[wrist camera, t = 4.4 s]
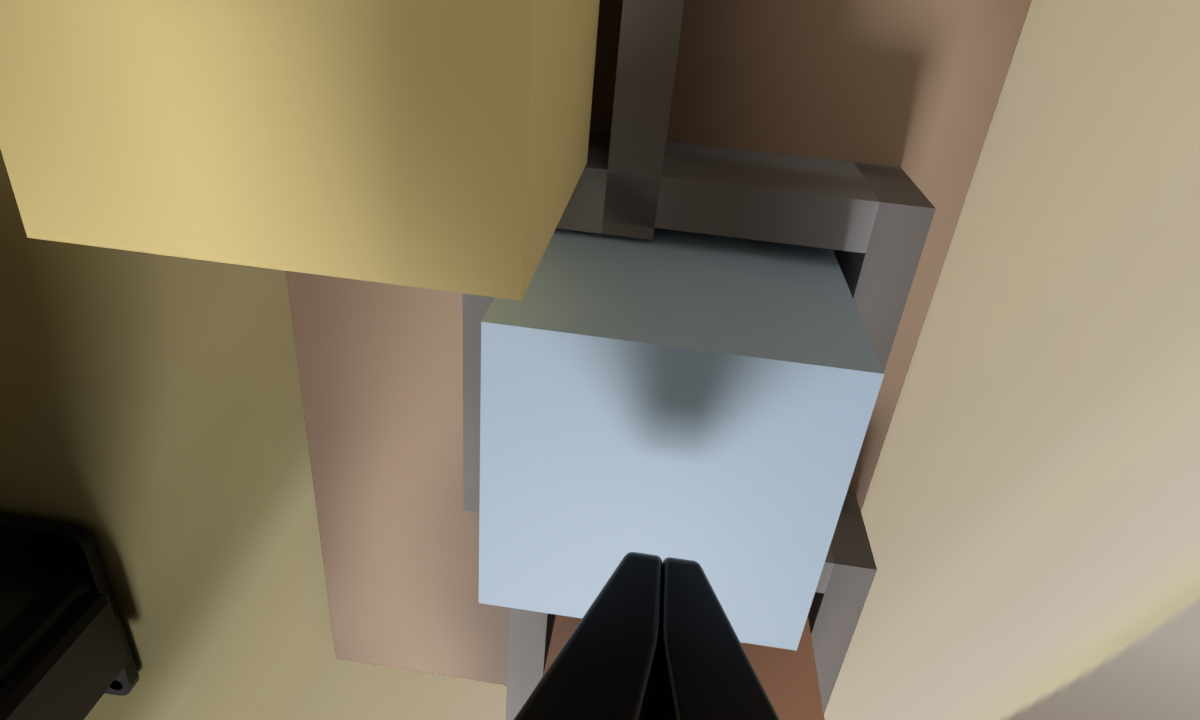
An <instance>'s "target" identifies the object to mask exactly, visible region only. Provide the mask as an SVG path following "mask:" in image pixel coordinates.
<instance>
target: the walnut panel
mask: <svg viewBox="0 0 1200 720" xmlns="http://www.w3.org/2000/svg"><path fill="white" fill-rule="evenodd" d="M1031 1H1032V0H600V4H599V16H598V29H597V42H596V55H595V68H594V80H593V93H592V106H591V119H590V132H589V144H588V157H587V164H586V166H585V168H584V170H583V172H582V174H581V177H580V179H579V181H578V183H577V185H576V187H575V189H574V191H573V193H572V195H571V198H570V200H569V202H568V204H567V206H566V208H565V210H564V212H563V214H562V216H561V219H560V221H559V223H558V225H557V227H556V228H558V229H566V230H575V231H583V232H591V233H599V234H607V235H616V236H624V237H632V238H640V239H648V240H653V236H654V229H655V228H661V229H669V230H677V231H685V232H694V233H702V234H710V235H718V236H727V237H735V238H743V239H751V240H760V241H768V242H776V243H784V244H792V245H801V246H809V247H817V248H825V249H833V252H834V254H835V256H836V259H837V261H838V264H839V266H840V268H841V271H842V273H843V276H844V278H845V280H846V283H847V285H848V288H849V290H850V292H851V295H852V297H853V300H854V302H855V304H856V307H857V309H858V312H859V314H860V316H861V319H862V321H863V324H864V326H865V328H866V331H867V333H868V335H869V338H870V340H871V343H872V345H873V347H874V350H875V352H876V355H877V357H878V359H879V362H880V364H881V367H882V369H883V371H884V377H883V381H882V384H881V387H880V390H879V393H878V396H877V399H876V403H875V406H874V409H873V412H872V415H871V418H870V421H869V425H868V428H867V431H866V434H865V437H864V440H863V443H862V447H861V450H860V453H859V456H858V459H857V462H856V465H855V469H854V472H853V475H852V478H851V481H850V484H849V488H848V491H847V494H846V497H845V500H844V503H843V506H842V510H841V513H840V516H839V519H838V522H837V525H836V528H835V532H834V535H833V538H832V541H831V544H830V547H829V550H828V554H827V557H826V560H825V563H824V566H823V569H822V572H821V576H820V579H819V582H818V585H817V588H816V591H815V594H814V598H813V601H812V604H811V607H810V610H809V613H808V619H809V625H810V632H811V638H812V644H813V651H814V657H815V663H816V669H817V676H818V682H819V688H820V695H821V701H822V707H823V713H824V712H825V710H826V707H827V704H828V701H829V699H830V696H831V693H832V691H833V688H834V685H835V682H836V680H837V677H838V674H839V671H840V669H841V666H842V663H843V661H844V658H845V655H846V652H847V650H848V647H849V644H850V642H851V639H852V636H853V633H854V631H855V628H856V625H857V622H858V620H859V617H860V614H861V612H862V609H863V606H864V603H865V601H866V598H867V595H868V592H869V590H870V587H871V584H872V582H873V579H874V576H875V573H876V571H877V569H876V565H875V561H874V558H873V554H872V551H871V547H870V543H869V540H868V536H867V533H866V529H865V525H864V522H863V518H862V515H861V509H862V506H863V503H864V500H865V497H866V494H867V491H868V488H869V485H870V482H871V479H872V476H873V473H874V470H875V467H876V464H877V461H878V458H879V455H880V452H881V449H882V446H883V443H884V440H885V437H886V434H887V431H888V428H889V425H890V422H891V419H892V416H893V413H894V410H895V407H896V404H897V401H898V398H899V395H900V392H901V389H902V386H903V383H904V380H905V377H906V374H907V371H908V368H909V365H910V362H911V359H912V356H913V353H914V350H915V347H916V344H917V341H918V338H919V335H920V332H921V329H922V326H923V323H924V320H925V317H926V314H927V311H928V308H929V305H930V303H931V300H932V297H933V294H934V291H935V288H936V285H937V282H938V279H939V276H940V273H941V270H942V267H943V264H944V261H945V258H946V255H947V252H948V249H949V246H950V243H951V240H952V237H953V234H954V231H955V228H956V225H957V222H958V219H959V216H960V213H961V210H962V207H963V204H964V201H965V198H966V195H967V192H968V189H969V186H970V183H971V180H972V177H973V174H974V171H975V168H976V165H977V162H978V159H979V156H980V153H981V150H982V147H983V144H984V141H985V138H986V135H987V132H988V129H989V126H990V123H991V120H992V117H993V114H994V111H995V108H996V105H997V102H998V99H999V96H1000V93H1001V90H1002V87H1003V84H1004V81H1005V78H1006V75H1007V72H1008V69H1009V66H1010V63H1011V60H1012V58H1013V55H1014V52H1015V49H1016V46H1017V43H1018V40H1019V37H1020V34H1021V31H1022V28H1023V25H1024V22H1025V19H1026V16H1027V13H1028V10H1029V7H1030V4H1031ZM286 275H287V282H288V290H289V298H290V306H291V313H292V321H293V329H294V337H295V344H296V352H297V360H298V368H299V376H300V383H301V391H302V399H303V407H304V414H305V422H306V430H307V438H308V445H309V453H310V461H311V469H312V476H313V484H314V492H315V500H316V508H317V515H318V523H319V531H320V539H321V546H322V554H323V562H324V570H325V577H326V585H327V593H328V601H329V608H330V616H331V624H332V632H333V640H334V647H335V655H336V659H342V660H348V661H355V662H361V663H368V664H374V665H381V666H387V667H393V668H400V669H406V670H413V671H419V672H426V673H432V674H438V675H445V676H451V677H458V678H464V679H471V680H477V681H483V682H490V683H496V684H503V685H507V701H506V720H514V718H515V717H516V715H517V714H518V712H519V711H520V709H521V708H522V707H523V705H524V704H525V702H526V701H527V699H528V698H529V696H530V695H531V693H532V692H533V690H534V689H535V687H536V686H537V684H538V683H539V681H540V680H541V678H542V677H543V675H544V670H545V665H546V660H547V656H548V651H549V646H550V641H551V636H552V631H553V627H554V622H555V617H556V615H555V614H549V613H542V612H535V611H529V610H522V609H515V608H509V607H502V606H495V605H489V604H482V603H479V505H480V402H481V321H482V320H483V318H484V316H485V314H486V312H487V310H488V309H489V307H490V305H491V303H492V301H493V300H494V298H495V297H488V296H480V295H472V294H465V293H457V292H449V291H441V290H433V289H425V288H418V287H410V286H402V285H394V284H386V283H378V282H371V281H363V280H355V279H347V278H339V277H332V276H324V275H316V274H308V273H300V272H292V271H286Z"/></svg>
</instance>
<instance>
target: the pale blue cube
mask: <svg viewBox="0 0 1200 720" xmlns="http://www.w3.org/2000/svg"><path fill="white" fill-rule="evenodd" d="M883 377H884V371H883V369H882V367H881V364H880V362H879V359H878V357H877V355H876V352H875V350H874V347H873V345H872V343H871V340H870V338H869V335H868V333H867V331H866V328H865V326H864V324H863V321H862V319H861V316H860V314H859V312H858V309H857V307H856V304H855V302H854V300H853V297H852V295H851V292H850V290H849V288H848V285H847V283H846V280H845V278H844V276H843V273H842V271H841V268H840V266H839V264H838V261H837V259H836V256H835V254H834V252H833V249H825V248H817V247H809V246H801V245H792V244H784V243H776V242H768V241H760V240H751V239H743V238H735V237H727V236H718V235H710V234H702V233H694V232H685V231H677V230H669V229H661V228H655V229H654V236H653V240H648V239H640V238H632V237H624V236H616V235H607V234H599V233H591V232H583V231H575V230H566V229H558V228H556V229H555V231H554V233H553V235H552V237H551V240H550V242H549V244H548V246H547V248H546V250H545V252H544V254H543V256H542V259H541V261H540V263H539V265H538V267H537V269H536V271H535V273H534V275H533V277H532V280H531V282H530V284H529V286H528V288H527V290H526V292H525V294H524V296H523V298H522V301H519V300H512V299H504V298H496V297H495V298H494V300H493V301H492V303H491V305H490V307H489V309H488V310H487V312H486V314H485V316H484V318H483V320H482V321H481V402H480V505H479V603H482V604H489V605H495V606H502V607H509V608H515V609H522V610H529V611H535V612H542V613H549V614H555V615H562V616H569V617H575V618H583V617H584V615H585V614H586V612H587V611H588V609H589V608H590V606H591V605H592V603H593V602H594V600H595V599H596V597H597V596H598V594H599V593H600V591H601V590H602V589H603V587H604V586H605V584H606V583H607V581H608V580H609V578H610V577H611V575H612V574H613V572H614V571H615V569H616V568H617V566H618V565H619V563H620V562H621V561H622V559H623V558H624V556H625V555H626V554H627V553H629V552H637V553H644V554H651V555H657V556H659V557H660V558H661V559H662V563H663V560H664V559H665V558H667V557H672V558H679V559H686V560H692V561H696V562H698V563H699V564H700V566H701V567H702V569H703V571H704V573H705V575H706V577H707V579H708V581H709V583H710V584H711V586H712V588H713V590H714V592H715V594H716V596H717V598H718V600H719V602H720V604H721V606H722V608H723V610H724V612H725V614H726V616H727V617H728V619H729V621H730V623H731V625H732V627H733V629H734V631H735V633H736V635H737V637H738V639H739V641H740V642H742V643H749V644H755V645H762V646H769V647H775V648H782V649H789V650H795V651H797V648H798V645H799V642H800V638H801V635H802V632H803V629H804V626H805V623H806V620H807V616H808V613H809V610H810V607H811V604H812V601H813V598H814V594H815V591H816V588H817V585H818V582H819V579H820V576H821V572H822V569H823V566H824V563H825V560H826V557H827V554H828V550H829V547H830V544H831V541H832V538H833V535H834V532H835V528H836V525H837V522H838V519H839V516H840V513H841V510H842V506H843V503H844V500H845V497H846V494H847V491H848V488H849V484H850V481H851V478H852V475H853V472H854V469H855V465H856V462H857V459H858V456H859V453H860V450H861V447H862V443H863V440H864V437H865V434H866V431H867V428H868V425H869V421H870V418H871V415H872V412H873V409H874V406H875V403H876V399H877V396H878V393H879V390H880V387H881V384H882V381H883Z"/></svg>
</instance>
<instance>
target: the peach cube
mask: <svg viewBox="0 0 1200 720" xmlns="http://www.w3.org/2000/svg"><path fill="white" fill-rule="evenodd" d="M581 620H582V618H575V617H569V616H562V615H556V617H555V622H554V627H553V631H552V636H551V641H550V646H549V651H548V656H547V660H546V665H545V670H544V674H545V673H546V671H547V670H548V668H549V667H550V665H551V664H552V662H553V661H554V659H555V658H556V656H557V655H558V653H559V652H560V650H561V649H562V648H563V646H564V645H565V643H566V642H567V640H568V639H569V637H570V636H571V634H572V633H573V631H574V630H575V628H576V627H577V625H578V624H579V622H580V621H581ZM740 643H741V645H742V647H743V649H744V650H745V652H746V654H747V656H748V658H749V660H750V662H751V664H752V666H753V668H754V670H755V672H756V674H757V676H758V678H759V680H760V682H761V683H762V685H763V687H764V689H765V691H766V693H767V695H768V697H769V699H770V701H771V703H772V705H773V707H774V709H775V711H776V713H777V715H778V716H779V718H780V720H824V713H823V707H822V701H821V695H820V688H819V682H818V676H817V669H816V663H815V657H814V651H813V644H812V638H811V632H810V625H809V619H808V616H807V620H806V623H805V626H804V629H803V632H802V635H801V638H800V642H799V645H798V648H797V651H795V650H789V649H782V648H775V647H769V646H762V645H755V644H749V643H742V642H740ZM543 676H544V675H543Z"/></svg>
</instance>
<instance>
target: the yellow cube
mask: <svg viewBox="0 0 1200 720" xmlns="http://www.w3.org/2000/svg"><path fill="white" fill-rule="evenodd" d="M599 4H600V0H0V149H1V152H2V156H3V159H4V162H5V165H6V169H7V172H8V175H9V179H10V182H11V185H12V188H13V192H14V195H15V198H16V202H17V205H18V208H19V211H20V215H21V218H22V221H23V225H24V228H25V231H26V234H27V238H34V239H42V240H50V241H58V242H65V243H73V244H81V245H89V246H97V247H105V248H112V249H120V250H128V251H136V252H144V253H151V254H159V255H167V256H175V257H183V258H191V259H198V260H206V261H214V262H222V263H230V264H238V265H245V266H253V267H261V268H269V269H277V270H285V271H292V272H300V273H308V274H316V275H324V276H332V277H339V278H347V279H355V280H363V281H371V282H378V283H386V284H394V285H402V286H410V287H418V288H425V289H433V290H441V291H449V292H457V293H465V294H472V295H480V296H488V297H496V298H504V299H512V300H519V301H522V298H523V296H524V294H525V292H526V290H527V288H528V286H529V284H530V282H531V280H532V277H533V275H534V273H535V271H536V269H537V267H538V265H539V263H540V261H541V259H542V256H543V254H544V252H545V250H546V248H547V246H548V244H549V242H550V240H551V237H552V235H553V233H554V231H555V229H556V227H557V225H558V223H559V221H560V219H561V216H562V214H563V212H564V210H565V208H566V206H567V204H568V202H569V200H570V198H571V195H572V193H573V191H574V189H575V187H576V185H577V183H578V181H579V179H580V177H581V174H582V172H583V170H584V168H585V166H586V164H587V157H588V144H589V132H590V119H591V106H592V93H593V80H594V68H595V55H596V42H597V29H598V16H599Z"/></svg>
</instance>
